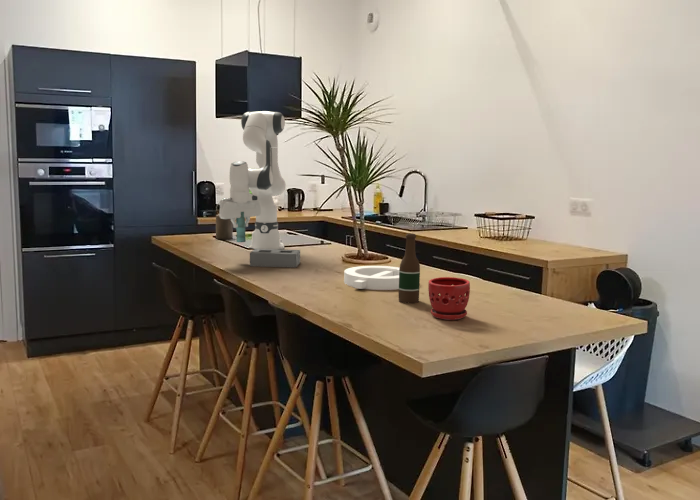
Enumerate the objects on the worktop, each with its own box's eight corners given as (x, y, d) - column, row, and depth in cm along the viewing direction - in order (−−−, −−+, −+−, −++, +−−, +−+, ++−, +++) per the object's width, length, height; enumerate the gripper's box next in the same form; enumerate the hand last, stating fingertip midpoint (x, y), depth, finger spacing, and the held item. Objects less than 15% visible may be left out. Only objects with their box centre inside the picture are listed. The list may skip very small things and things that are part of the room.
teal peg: (239, 240, 312) (238, 210, 309) (247, 241, 310) (246, 211, 308) (235, 241, 308) (234, 211, 306) (242, 242, 307) (241, 212, 304)
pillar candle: (224, 240, 383) (224, 213, 381) (212, 238, 388) (212, 212, 386) (236, 238, 391) (236, 212, 389) (223, 237, 396) (224, 211, 394)
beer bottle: (423, 303, 234) (425, 235, 231) (402, 304, 232) (404, 235, 228) (414, 298, 242) (417, 232, 238) (394, 299, 239) (396, 232, 236)
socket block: (255, 261, 313) (255, 248, 312) (300, 262, 312) (300, 249, 311) (249, 266, 300) (249, 252, 300) (296, 267, 299) (296, 254, 298)
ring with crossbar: (354, 292, 252) (355, 279, 251) (336, 278, 279) (336, 266, 278) (424, 289, 260) (424, 277, 259) (400, 275, 286) (400, 264, 285)
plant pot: (431, 310, 224) (432, 275, 222) (470, 314, 220) (472, 278, 218) (423, 320, 211) (425, 282, 209) (465, 323, 207) (467, 285, 206)
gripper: (223, 199, 297) (224, 230, 299) (262, 196, 310) (263, 226, 312) (216, 198, 302) (217, 228, 304) (255, 195, 315) (255, 224, 317)
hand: (240, 227), depth 308 cm, fingers closed on teal peg, 4 cm apart
